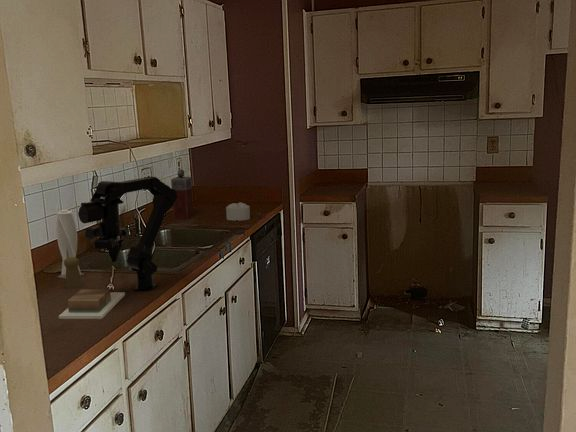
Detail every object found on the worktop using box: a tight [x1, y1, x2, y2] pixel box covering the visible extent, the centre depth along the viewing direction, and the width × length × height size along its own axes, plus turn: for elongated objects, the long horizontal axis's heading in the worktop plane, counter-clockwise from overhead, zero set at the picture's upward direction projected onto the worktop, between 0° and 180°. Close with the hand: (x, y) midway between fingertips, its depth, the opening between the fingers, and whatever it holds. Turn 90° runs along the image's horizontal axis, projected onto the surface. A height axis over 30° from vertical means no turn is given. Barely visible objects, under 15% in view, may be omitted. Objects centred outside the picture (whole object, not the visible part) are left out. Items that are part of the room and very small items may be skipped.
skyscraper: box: [55, 205, 85, 280], centre depth 225 cm, size 8×8×28 cm
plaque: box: [67, 288, 111, 313], centre depth 190 cm, size 4×10×11 cm
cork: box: [64, 257, 83, 290], centre depth 213 cm, size 6×6×11 cm
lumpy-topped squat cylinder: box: [225, 202, 251, 222], centre depth 324 cm, size 10×13×9 cm
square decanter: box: [170, 169, 195, 220], centre depth 328 cm, size 9×11×28 cm
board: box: [58, 291, 126, 320], centre depth 193 cm, size 22×14×1 cm, turn 177°
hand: (114, 261), depth 199 cm, fingers closed
